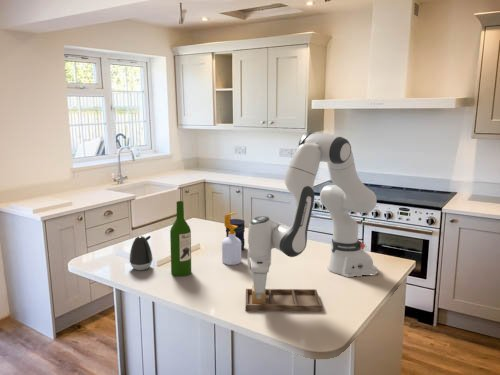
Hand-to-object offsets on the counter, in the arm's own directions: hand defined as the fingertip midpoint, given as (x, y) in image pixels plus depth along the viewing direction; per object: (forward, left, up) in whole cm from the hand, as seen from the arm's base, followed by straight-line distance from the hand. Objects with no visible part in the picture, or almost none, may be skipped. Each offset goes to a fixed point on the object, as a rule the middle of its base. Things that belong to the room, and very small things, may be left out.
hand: (258, 294), depth 159 cm
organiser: (-9, 0, -3) cm, 10 cm away
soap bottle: (+12, -42, -3) cm, 44 cm away
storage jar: (+11, -61, -3) cm, 62 cm away
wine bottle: (+34, -28, -3) cm, 44 cm away
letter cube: (0, 0, -2) cm, 2 cm away
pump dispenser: (+53, -33, -3) cm, 63 cm away
